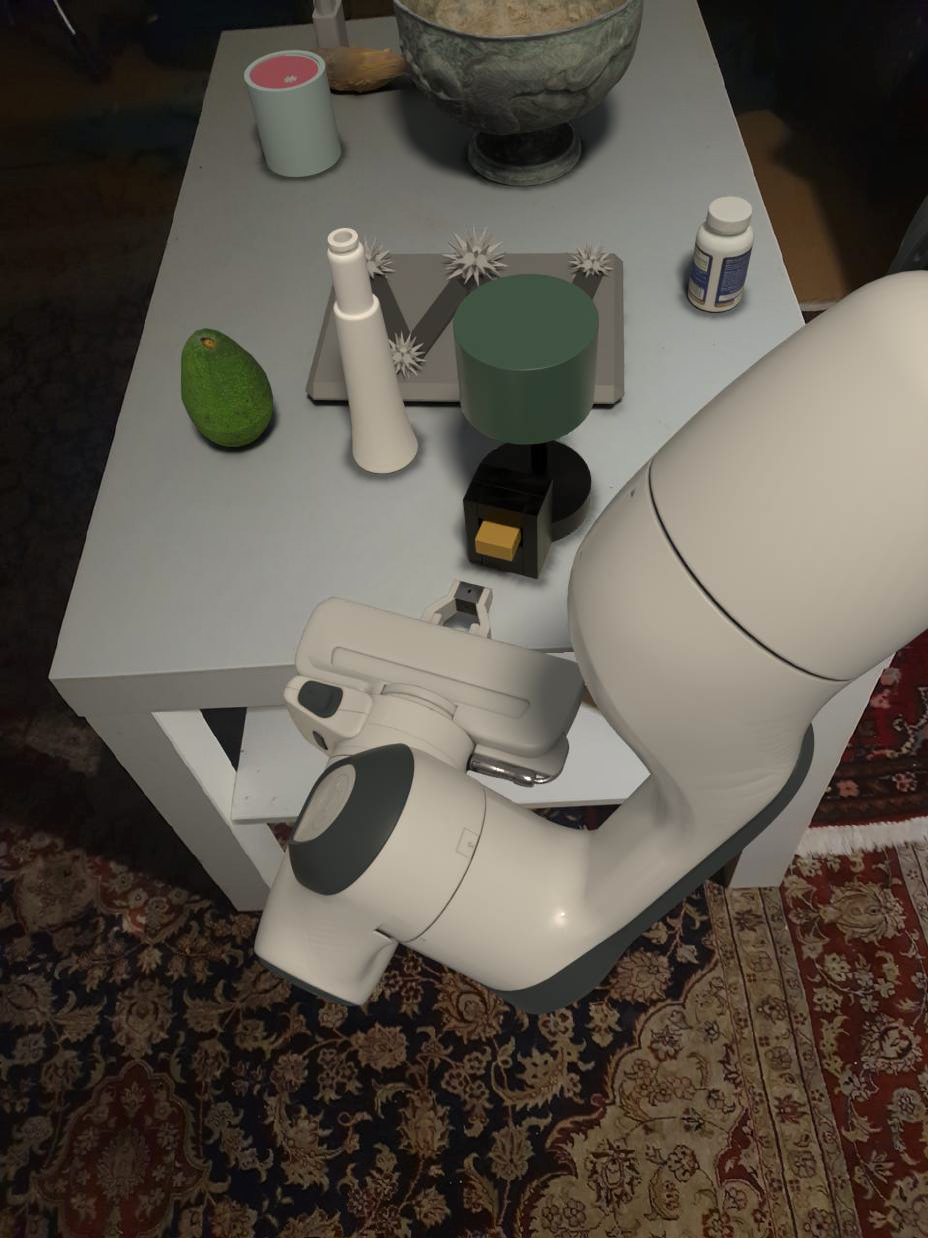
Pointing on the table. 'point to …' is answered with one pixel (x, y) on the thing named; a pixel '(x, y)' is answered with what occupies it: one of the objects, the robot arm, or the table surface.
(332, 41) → the power adapter
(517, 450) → the desk lamp
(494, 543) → the lamp switch
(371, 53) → the bird model
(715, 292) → the pill bottle
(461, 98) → the decorative bowl
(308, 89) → the mug
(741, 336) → the table surface
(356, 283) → the cosmetic bottle
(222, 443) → the fruit
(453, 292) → the decorative plate
